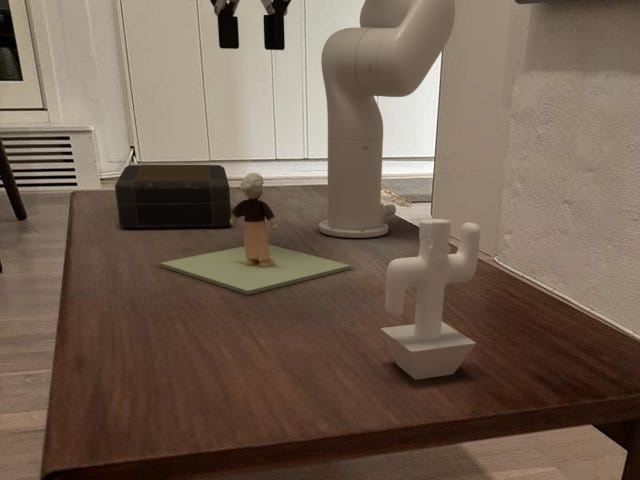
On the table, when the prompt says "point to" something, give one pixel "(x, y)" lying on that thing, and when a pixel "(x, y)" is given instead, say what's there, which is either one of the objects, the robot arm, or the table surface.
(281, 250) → the mat
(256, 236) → the grandmother figurine
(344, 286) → the table surface
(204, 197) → the cash box
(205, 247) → the table surface
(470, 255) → the figurine
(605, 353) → the table surface
